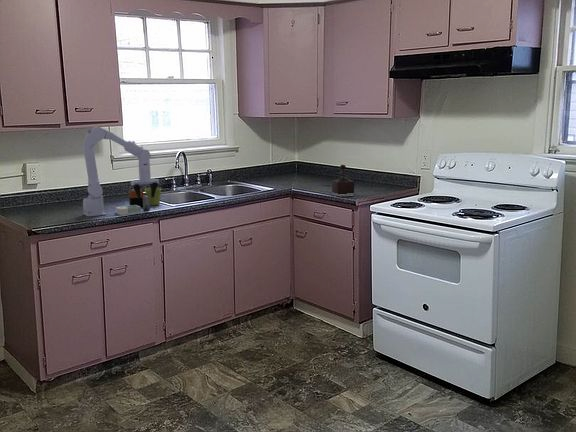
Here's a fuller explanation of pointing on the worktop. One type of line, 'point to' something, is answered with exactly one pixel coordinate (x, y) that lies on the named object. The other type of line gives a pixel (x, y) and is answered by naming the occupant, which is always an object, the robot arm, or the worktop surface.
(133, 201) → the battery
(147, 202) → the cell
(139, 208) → the charger
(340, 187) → the brown bottle
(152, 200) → the plant pot
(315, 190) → the worktop surface
